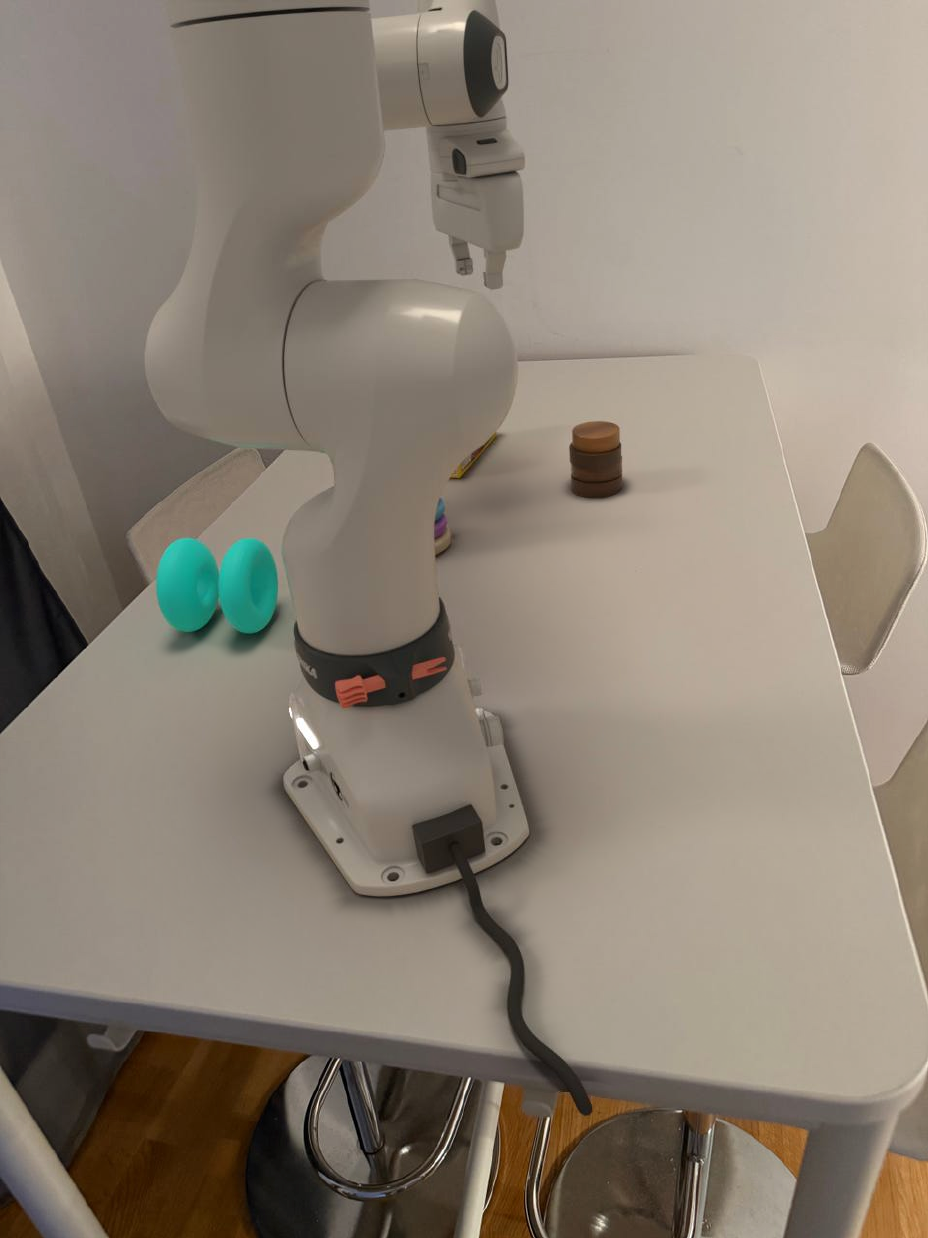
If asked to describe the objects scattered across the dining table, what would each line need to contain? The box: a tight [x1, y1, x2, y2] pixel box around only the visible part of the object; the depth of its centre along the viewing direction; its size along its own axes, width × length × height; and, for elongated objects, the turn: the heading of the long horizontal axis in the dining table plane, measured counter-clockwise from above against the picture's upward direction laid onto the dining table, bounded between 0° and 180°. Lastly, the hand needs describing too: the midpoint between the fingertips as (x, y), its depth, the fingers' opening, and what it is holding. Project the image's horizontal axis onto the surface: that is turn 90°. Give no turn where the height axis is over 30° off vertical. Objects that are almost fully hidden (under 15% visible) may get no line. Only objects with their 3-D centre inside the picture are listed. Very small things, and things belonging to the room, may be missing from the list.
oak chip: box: [571, 420, 621, 453], centre depth 117 cm, size 6×6×2 cm
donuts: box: [155, 537, 279, 634], centre depth 97 cm, size 10×10×10 cm
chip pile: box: [568, 442, 623, 499], centre depth 119 cm, size 7×7×6 cm
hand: (478, 280), depth 108 cm, fingers open, 8 cm apart
